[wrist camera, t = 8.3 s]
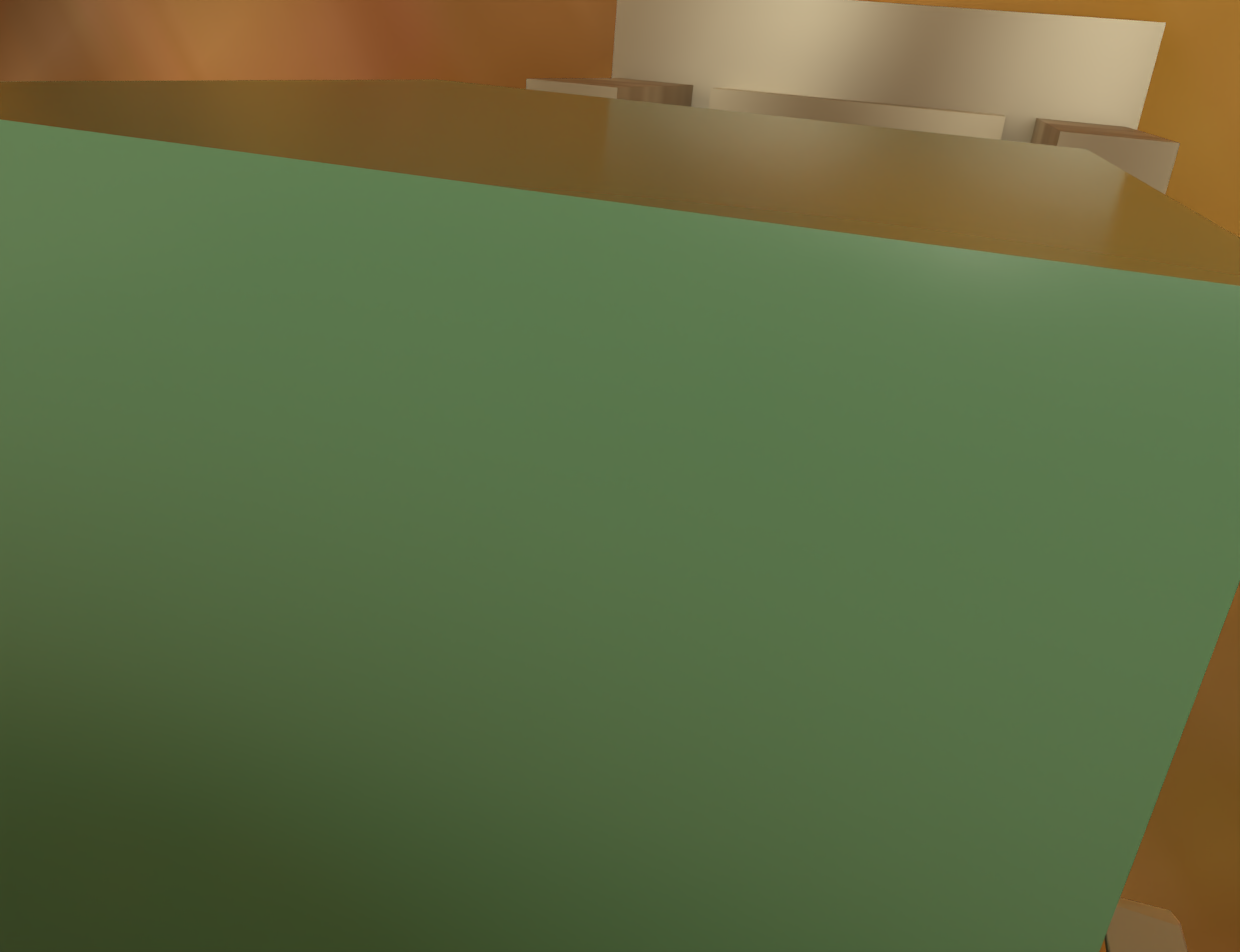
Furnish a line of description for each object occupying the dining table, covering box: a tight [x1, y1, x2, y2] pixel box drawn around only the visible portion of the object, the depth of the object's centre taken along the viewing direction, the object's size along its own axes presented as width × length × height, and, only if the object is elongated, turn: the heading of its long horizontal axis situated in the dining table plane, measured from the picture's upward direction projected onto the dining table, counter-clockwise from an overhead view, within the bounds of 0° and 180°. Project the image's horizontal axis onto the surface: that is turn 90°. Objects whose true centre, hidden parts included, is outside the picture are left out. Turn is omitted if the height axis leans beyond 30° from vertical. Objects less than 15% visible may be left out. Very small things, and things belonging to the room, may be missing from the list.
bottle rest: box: [526, 0, 1180, 194], centre depth 20 cm, size 10×14×6 cm
